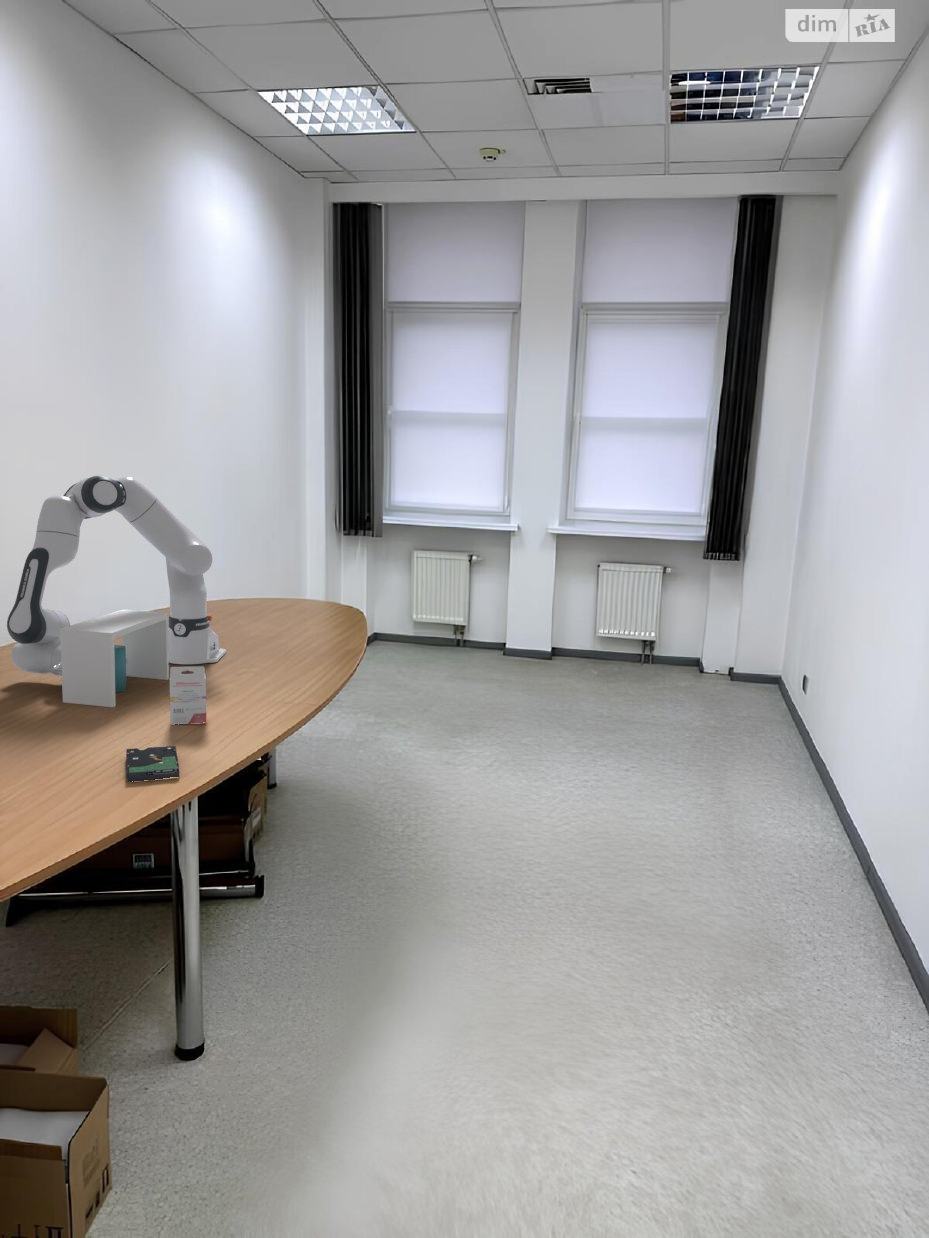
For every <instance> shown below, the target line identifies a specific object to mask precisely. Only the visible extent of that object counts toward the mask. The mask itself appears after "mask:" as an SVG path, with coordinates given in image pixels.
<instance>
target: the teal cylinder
mask: <svg viewBox="0 0 929 1238" xmlns="http://www.w3.org/2000/svg"><path fill="white" fill-rule="evenodd" d="M114 654H115V693H122V692H125V691H126V690H127V676H126V647H125V646H122V645H121V644H114Z"/></svg>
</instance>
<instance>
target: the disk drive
mask: <svg viewBox="0 0 929 1238" xmlns="http://www.w3.org/2000/svg"><path fill="white" fill-rule="evenodd" d="M125 757H126V782H132V781H133V782H132V783H135V782H134V781H144V780H155V779H163V778H170V777H179V778H180V763H179V758H178V753H177V748H176V745H169V746H152V747H147V748H145V749H139V748H136V747H135V748H126V754H125Z"/></svg>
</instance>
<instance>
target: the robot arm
mask: <svg viewBox="0 0 929 1238" xmlns="http://www.w3.org/2000/svg"><path fill="white" fill-rule="evenodd" d="M112 511H115V512H117V513H119V515H122V517H123V518H124V519H125V520H126V521H127V522H128V523H129V524H130V525H131V526H132V527H133V528H134V529H135V530H136V531H137V532H138V533H139V534H140V535H141V536H142V537H143V538H144V539H146V541H147V542H148V543H150V544H151V545H152V546H153V547H154V548H155V549H156V550H157V551H158V552H160V553H161V554H162V556H164V557H165V562H166V573H167V574H166V575H167V580H168V587H169V588H168V589H169V614H170V615H168V640H169V664H174V665H200V664H201V665H202V664H208V663H210V664H211V663H218V661H219V660H220V659H221V658H222V657H224V655H226V653H227V650H226V649H225V648H221V647H220V646H219V645H220V643H219V635H218V634H216V632H214V630H213V629H212V628H211V627H210V622H211V621H212V620H213V615H212V614H207V613H208V612H207V607H208V606H207V602H208V601H207V594H208V593H207V588H206V585H205V577H204V574H205V573H207V572H208V571H209V570H210V569H211V567H212V564H213V555H212V552H211V550H210V548H209V547H208V546H207V545H206V544H205V543H204V542H203V541H202V539H200V538H199V537H198V536H197V535H196V534H195V533H194V532H193V531H191V529H190V528H189V527H187V526H186V524H184V523H183V522H182V521H181V520H180V519H179V518H177V516H176V515H174V513H173V512H172V511H171V510H169V509H168V507H166V506H165V504H164V503H163V502H162V501H161V500H160V499H159V498H158V497H157V496H156V495H155V494H154V493H153V492H152V491H150V490H149V489H148V488H147V487H146V486H145V485H144V484H142V483H141V482H140V481H138V480H137V479H135V478H134V477H133V476H132V477H131V476H123V477H122V476H121V477H120V478H118V479H113V478H110V477H108V476H104V475H93V476H90V477H86V478H83V479H80V481H78V482H76V483H75V484H73V485H71V486H70V487H69V488H68V489H67V490H66V491H65V493H64V494H63V495H53V496H52V495H51V496H49V497H48V498H46V499H44V501H43V503H42V506H41V508H40V512H39V516H38V521H37V525H36V531H35V539H34V542H33V547H32V549H31V551H30V552H29V553H28V555H27V557H26V559H25V561H24V562H25V563H24V566H23V569H22V573H21V577H20V582H19V586H18V589H17V590H18V591H17V594H16V599H15V601H14V604H13V607H12V609H11V611H10V612H9V614H8V617H7V620H6V627H7V632H8V634H9V636H10V637H11V638H12V640H14V641H15V642H16V643H15V644H14V645H13V646H12V649H11V654H10V655H11V660H12V662H13V664H14V666H15V667H16V668H17V669H19V670H21V671H23V672H27V673H31V674H37V675H38V674H39V675H48V674H51V675H54V676H58V677H62V663H61V632H60V629H61V628H64V627H67V626H70V625H71V623H70V620H69V618H68V616H67V615H66V614H65V613H63V612H61V611H58V610H53V609H46V608H43V606H42V603H43V598H44V592H45V589H46V584H47V580H48V578H49V576H50V575H51V573H52V572H53V571H54V570H57V569H59V568H61V567H65V566H67V565H68V564H70V563H72V562H73V561H74V559H75V558H76V557H77V554H78V552H79V551H78V550H79V545H80V544H79V543H80V534H81V526H82V523H83V521H84V520H86V519H92V518H97V517H101V516H103V515H105V514H107V513H110V512H112ZM127 663H128V659H127V658H126V664H127Z"/></svg>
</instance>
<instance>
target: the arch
mask: <svg viewBox="0 0 929 1238" xmlns="http://www.w3.org/2000/svg"><path fill="white" fill-rule="evenodd" d="M168 620H169V612H160V611H149V610H148V611H147V610H146V611H145V610H137V609H136V610H135V609H125V608H124V609H123V608H122V609H120V610H119V609H118V610H116V611H113V612H110V613H106V614H104V615H99V616H96V617H94V618H91V619H87V620H83V621H81V622H77V623H74V624H70V626H67V627H64V628H61V629H60V632H61V663H62V676H61V686H62V687H61V688H62V689H61V690H62V703H65V704H74V705H83V706H84V705H87V706H94V707H95V706H96V707H105V708H106V707H107V708H115V707H116V704H117V703H116V692H115V654H114V645H115V639H116V638H120V640H121V641H120V645H122V646H125V647H126V658H127V659H128V663H127V664H126V677H131V678H142V679H143V678H144V679H152V680H153V679H154V680H164V681H168V680H170V674H169V673H170V665H169V664H170V663H169V640H168V630H169V623H168Z"/></svg>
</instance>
